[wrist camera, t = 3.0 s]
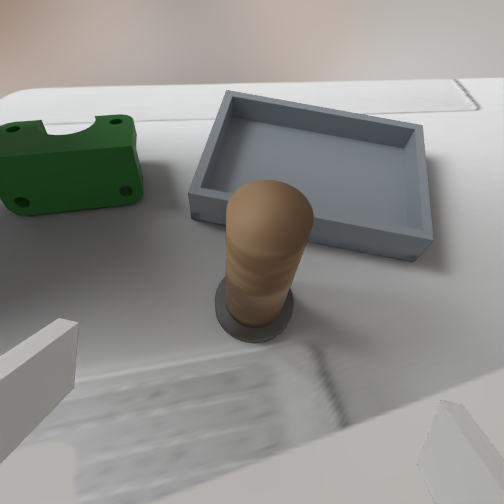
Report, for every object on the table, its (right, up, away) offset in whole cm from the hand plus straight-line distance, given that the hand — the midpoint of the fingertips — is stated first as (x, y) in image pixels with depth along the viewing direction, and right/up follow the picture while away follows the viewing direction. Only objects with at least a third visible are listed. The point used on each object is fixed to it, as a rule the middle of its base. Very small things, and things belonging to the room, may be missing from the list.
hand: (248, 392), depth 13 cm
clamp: (-16, +11, +21) cm, 28 cm away
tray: (+6, +12, +22) cm, 26 cm away
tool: (0, +1, +15) cm, 15 cm away
